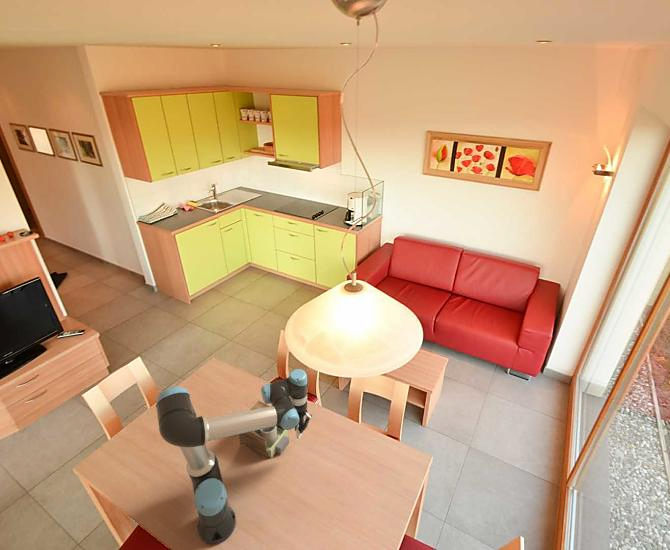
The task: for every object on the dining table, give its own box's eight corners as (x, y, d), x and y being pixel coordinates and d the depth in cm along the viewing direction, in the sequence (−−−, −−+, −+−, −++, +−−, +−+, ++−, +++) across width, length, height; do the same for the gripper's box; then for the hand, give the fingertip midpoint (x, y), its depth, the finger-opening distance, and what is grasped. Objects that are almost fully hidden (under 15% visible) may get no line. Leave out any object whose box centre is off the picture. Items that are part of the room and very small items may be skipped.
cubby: (267, 459, 189) (264, 438, 182) (240, 444, 196) (236, 423, 189) (286, 433, 202) (285, 413, 195) (261, 420, 209) (258, 400, 202)
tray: (276, 460, 188) (275, 453, 185) (244, 442, 196) (243, 435, 194) (293, 438, 199) (292, 431, 196) (261, 422, 207) (260, 415, 204)
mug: (280, 435, 199) (279, 421, 194) (273, 449, 192) (271, 434, 187) (259, 429, 202) (257, 414, 197) (251, 442, 195) (249, 428, 190)
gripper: (315, 400, 170) (315, 436, 182) (291, 388, 175) (292, 424, 187) (306, 411, 164) (306, 448, 176) (281, 399, 170) (283, 436, 181)
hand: (299, 436), depth 181 cm, fingers closed
